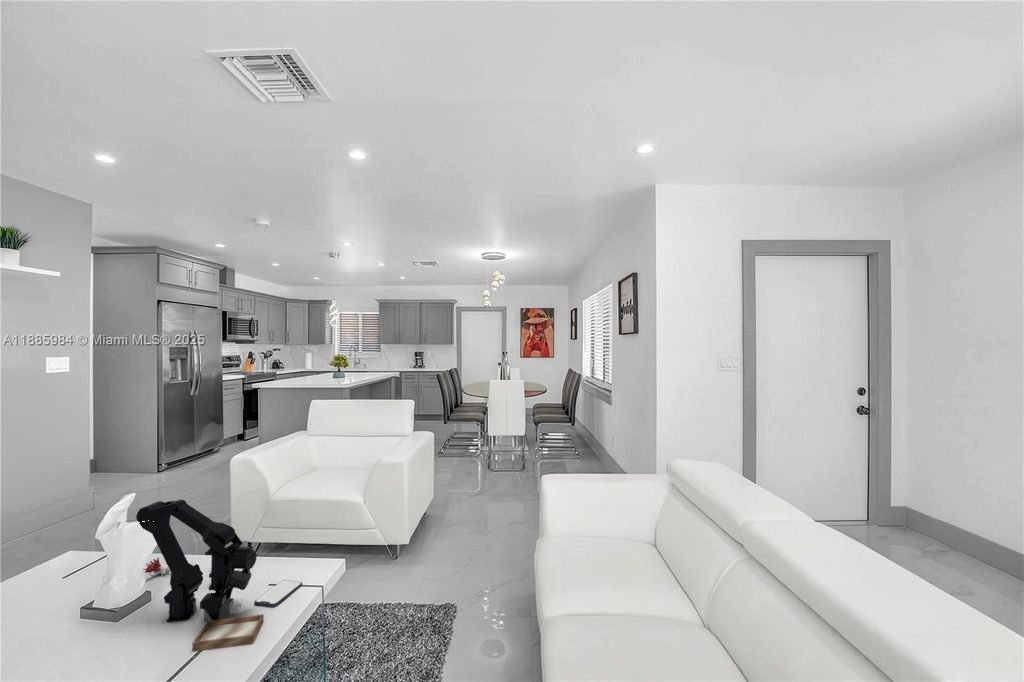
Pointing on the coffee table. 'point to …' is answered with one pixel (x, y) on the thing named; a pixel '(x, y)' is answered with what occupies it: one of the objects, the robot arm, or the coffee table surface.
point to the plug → (225, 610)
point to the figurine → (157, 567)
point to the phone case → (278, 594)
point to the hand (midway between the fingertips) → (221, 614)
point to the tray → (228, 632)
